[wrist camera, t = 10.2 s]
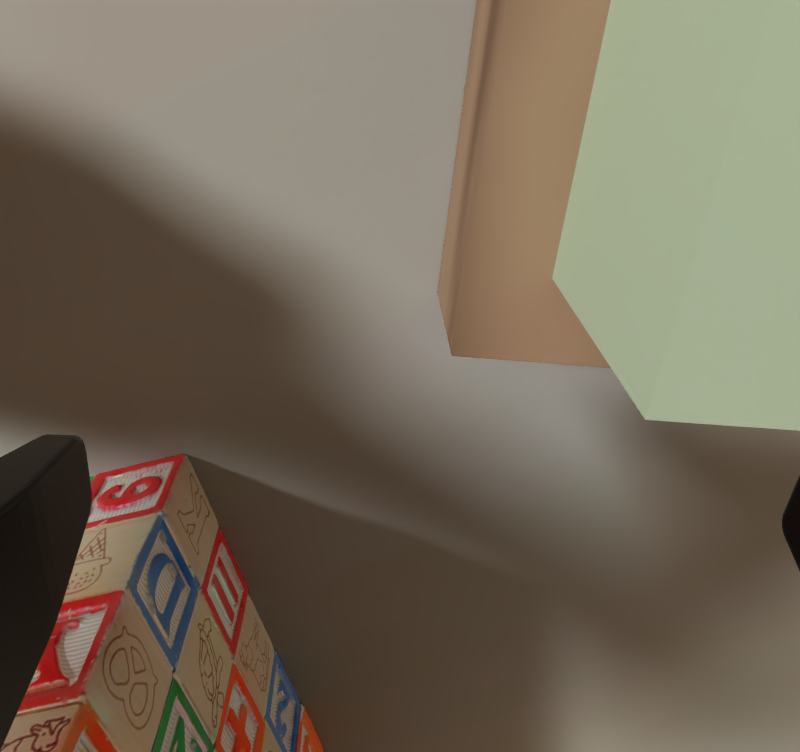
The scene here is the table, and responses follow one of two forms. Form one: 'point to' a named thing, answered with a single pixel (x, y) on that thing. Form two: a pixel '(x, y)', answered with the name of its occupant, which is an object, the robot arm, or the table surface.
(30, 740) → the stack of blocks
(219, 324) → the table surface
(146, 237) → the table surface
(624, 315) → the green cube
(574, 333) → the walnut base
